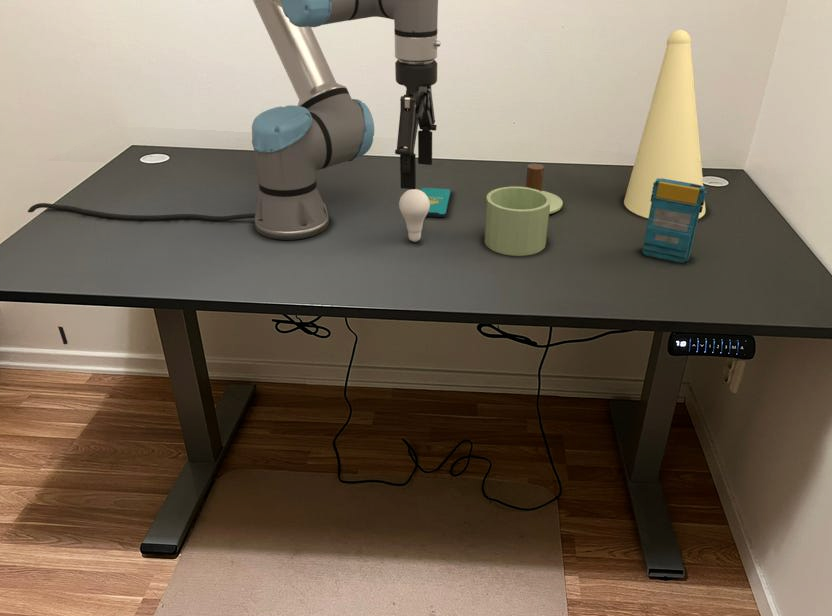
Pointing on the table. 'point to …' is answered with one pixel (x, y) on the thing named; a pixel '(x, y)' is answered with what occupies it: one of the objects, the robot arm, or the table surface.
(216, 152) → the table surface
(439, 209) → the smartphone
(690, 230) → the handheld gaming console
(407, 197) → the lightbulb
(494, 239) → the canister
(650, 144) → the cone light
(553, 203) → the canister lid
